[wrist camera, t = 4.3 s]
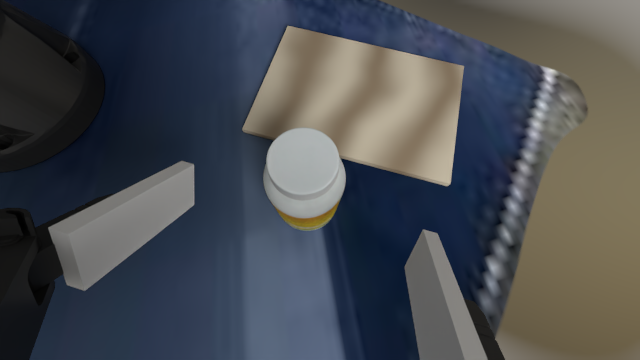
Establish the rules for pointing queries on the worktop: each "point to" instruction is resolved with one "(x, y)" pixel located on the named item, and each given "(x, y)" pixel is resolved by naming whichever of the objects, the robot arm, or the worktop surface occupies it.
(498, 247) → the worktop surface
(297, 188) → the supplement bottle
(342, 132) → the birch board
